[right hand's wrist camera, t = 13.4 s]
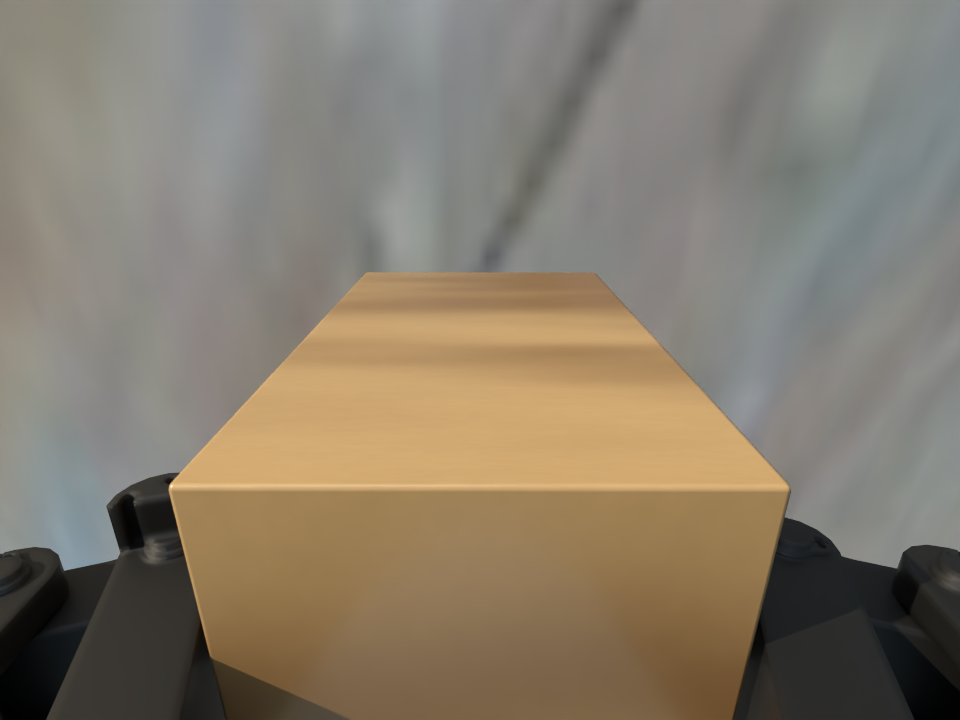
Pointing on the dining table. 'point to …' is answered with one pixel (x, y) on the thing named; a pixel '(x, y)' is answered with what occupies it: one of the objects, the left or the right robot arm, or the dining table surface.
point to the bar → (479, 516)
